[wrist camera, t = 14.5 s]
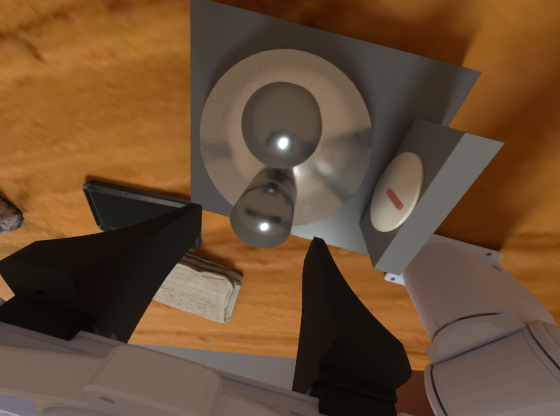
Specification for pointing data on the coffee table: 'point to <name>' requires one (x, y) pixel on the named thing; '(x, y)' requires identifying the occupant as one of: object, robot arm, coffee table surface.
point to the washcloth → (201, 288)
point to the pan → (329, 153)
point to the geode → (9, 217)
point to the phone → (129, 206)
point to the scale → (384, 121)
